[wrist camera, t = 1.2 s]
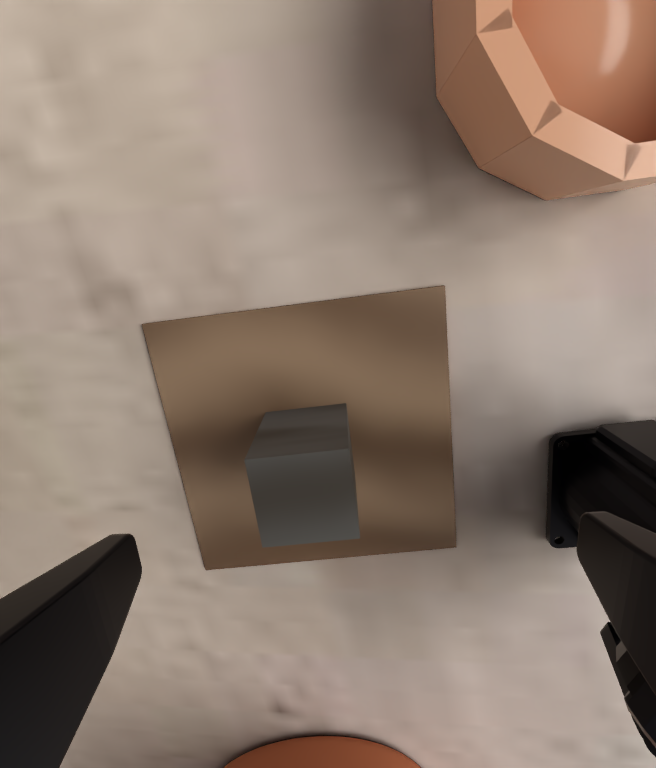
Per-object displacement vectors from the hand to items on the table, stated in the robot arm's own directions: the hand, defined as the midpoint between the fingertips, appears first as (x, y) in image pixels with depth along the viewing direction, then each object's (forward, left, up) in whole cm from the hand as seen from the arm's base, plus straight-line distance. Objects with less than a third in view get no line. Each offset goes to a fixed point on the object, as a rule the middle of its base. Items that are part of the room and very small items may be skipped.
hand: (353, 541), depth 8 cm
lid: (-3, +2, -13) cm, 14 cm away
